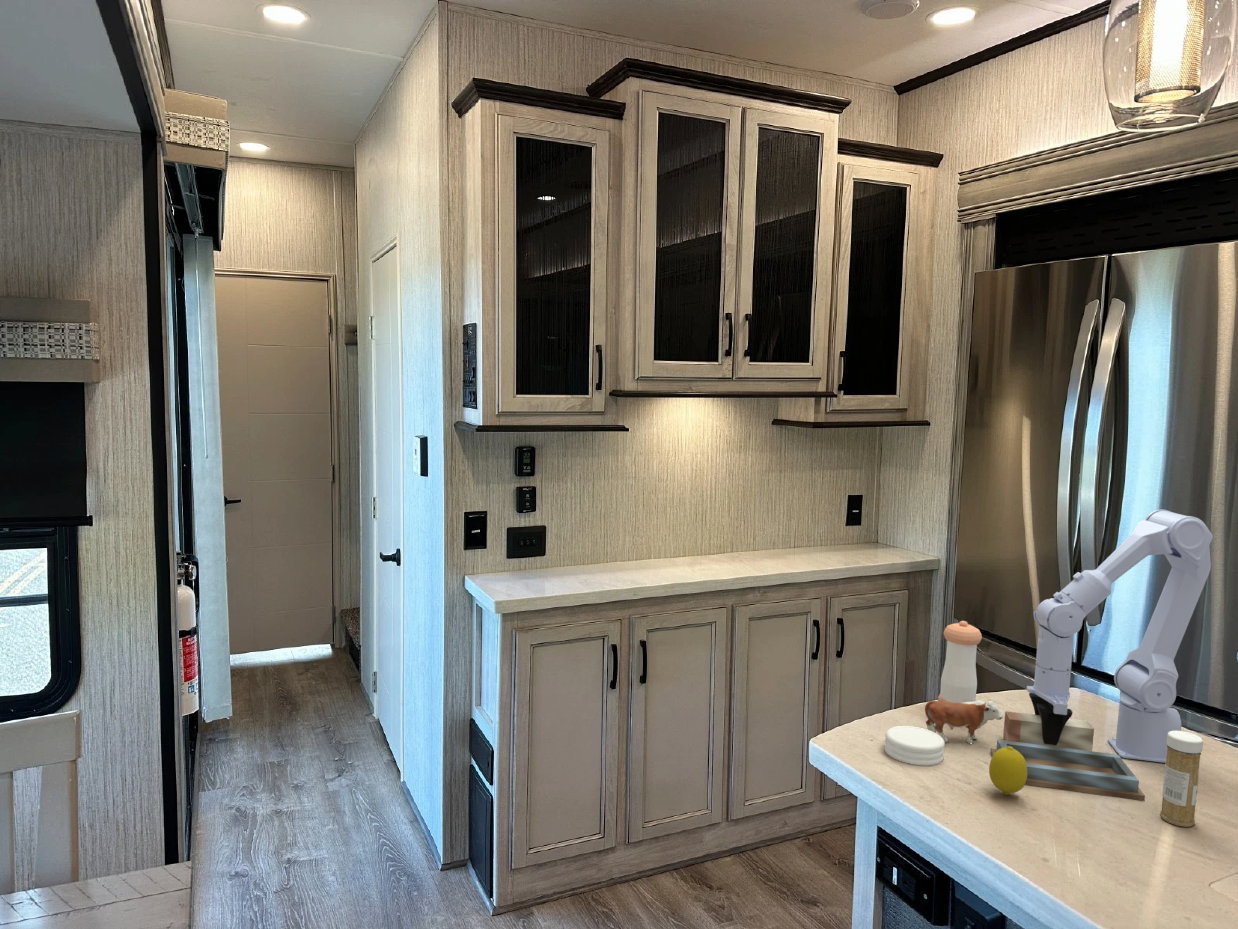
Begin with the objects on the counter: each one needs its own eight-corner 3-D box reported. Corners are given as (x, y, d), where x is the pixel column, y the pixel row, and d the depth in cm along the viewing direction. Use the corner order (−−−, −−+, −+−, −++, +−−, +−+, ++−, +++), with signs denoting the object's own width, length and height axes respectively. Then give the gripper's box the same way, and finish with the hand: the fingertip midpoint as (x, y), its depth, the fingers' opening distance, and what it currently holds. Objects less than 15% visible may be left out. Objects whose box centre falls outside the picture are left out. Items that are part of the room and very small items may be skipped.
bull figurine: (1002, 750, 157) (1005, 706, 156) (923, 741, 160) (927, 698, 159) (996, 740, 161) (1000, 697, 160) (920, 732, 164) (923, 690, 163)
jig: (1120, 769, 151) (1121, 753, 150) (1144, 800, 139) (1146, 783, 139) (990, 752, 156) (991, 737, 155) (1003, 781, 144) (1004, 765, 144)
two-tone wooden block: (1085, 747, 159) (1087, 720, 159) (1091, 756, 155) (1094, 729, 155) (1003, 737, 162) (1005, 711, 162) (1007, 745, 159) (1009, 719, 158)
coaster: (939, 772, 147) (940, 752, 147) (878, 758, 152) (880, 739, 151) (947, 751, 156) (948, 732, 156) (890, 739, 161) (891, 720, 160)
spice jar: (1202, 827, 131) (1211, 740, 130) (1176, 829, 130) (1185, 742, 129) (1176, 812, 136) (1184, 728, 134) (1151, 814, 135) (1160, 730, 133)
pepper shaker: (982, 723, 169) (989, 627, 167) (944, 722, 169) (951, 625, 167) (967, 709, 176) (974, 617, 175) (931, 708, 176) (938, 615, 175)
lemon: (1023, 791, 141) (1027, 743, 140) (1026, 806, 136) (1031, 756, 135) (986, 784, 143) (990, 737, 142) (988, 799, 137) (992, 750, 137)
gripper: (1020, 652, 165) (1015, 721, 167) (1038, 676, 151) (1032, 752, 153) (1061, 656, 164) (1055, 726, 165) (1083, 681, 150) (1076, 757, 151)
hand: (1047, 739), depth 159 cm, fingers closed on two-tone wooden block, 4 cm apart
